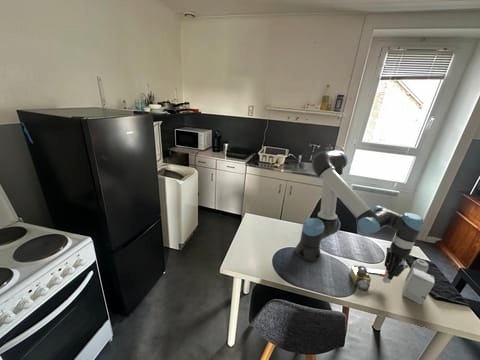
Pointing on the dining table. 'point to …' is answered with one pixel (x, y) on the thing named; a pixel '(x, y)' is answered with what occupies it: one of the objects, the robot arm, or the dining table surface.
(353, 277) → the valve
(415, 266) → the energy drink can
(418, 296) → the skincare box
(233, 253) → the dining table surface
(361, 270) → the lever
